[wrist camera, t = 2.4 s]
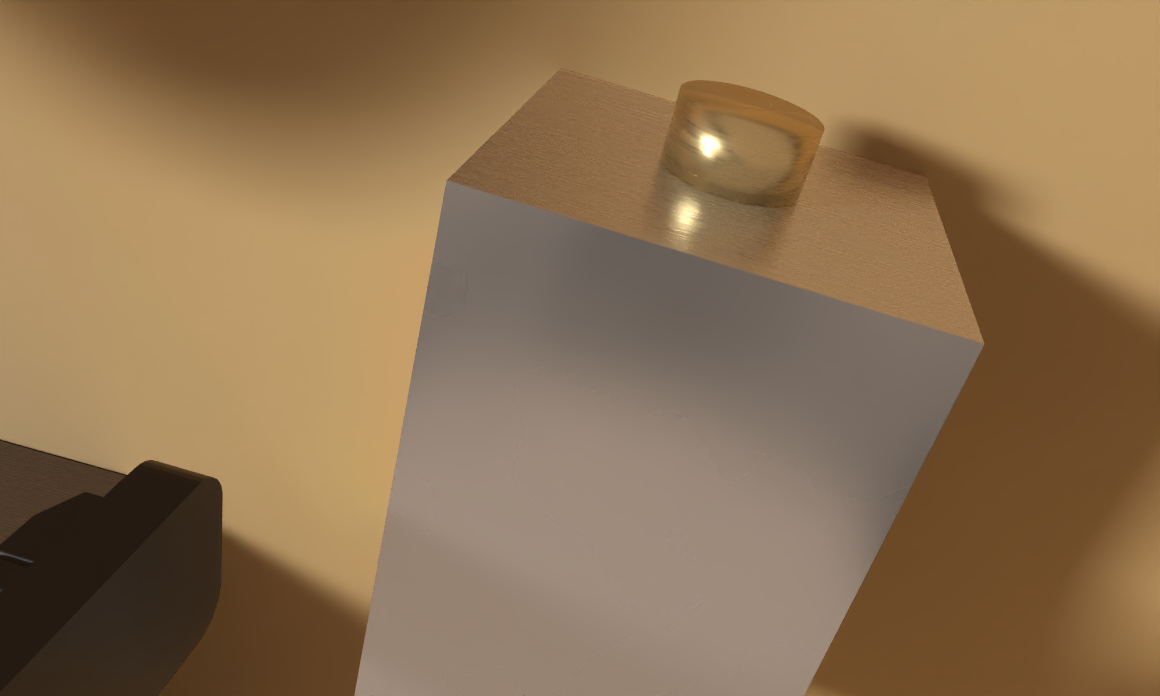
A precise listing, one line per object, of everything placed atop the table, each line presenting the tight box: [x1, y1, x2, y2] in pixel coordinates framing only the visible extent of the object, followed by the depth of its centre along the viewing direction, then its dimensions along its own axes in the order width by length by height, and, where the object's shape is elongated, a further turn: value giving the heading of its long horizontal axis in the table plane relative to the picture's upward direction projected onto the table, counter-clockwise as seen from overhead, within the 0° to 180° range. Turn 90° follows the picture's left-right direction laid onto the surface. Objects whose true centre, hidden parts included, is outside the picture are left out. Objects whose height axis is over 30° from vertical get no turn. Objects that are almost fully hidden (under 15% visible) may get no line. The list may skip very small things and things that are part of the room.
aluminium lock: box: [354, 69, 984, 696], centre depth 13 cm, size 9×5×5 cm, turn 166°
